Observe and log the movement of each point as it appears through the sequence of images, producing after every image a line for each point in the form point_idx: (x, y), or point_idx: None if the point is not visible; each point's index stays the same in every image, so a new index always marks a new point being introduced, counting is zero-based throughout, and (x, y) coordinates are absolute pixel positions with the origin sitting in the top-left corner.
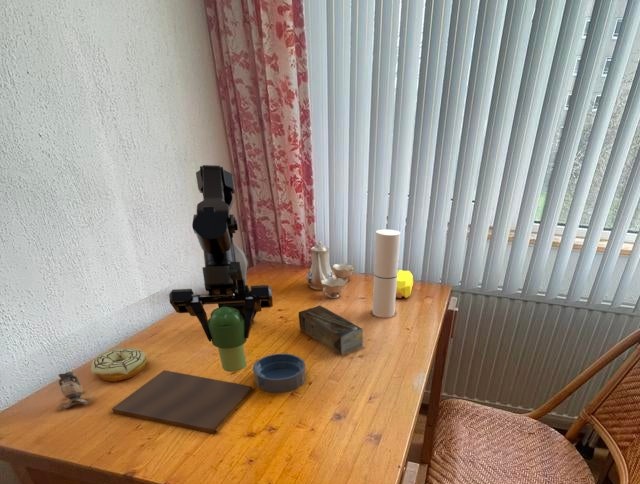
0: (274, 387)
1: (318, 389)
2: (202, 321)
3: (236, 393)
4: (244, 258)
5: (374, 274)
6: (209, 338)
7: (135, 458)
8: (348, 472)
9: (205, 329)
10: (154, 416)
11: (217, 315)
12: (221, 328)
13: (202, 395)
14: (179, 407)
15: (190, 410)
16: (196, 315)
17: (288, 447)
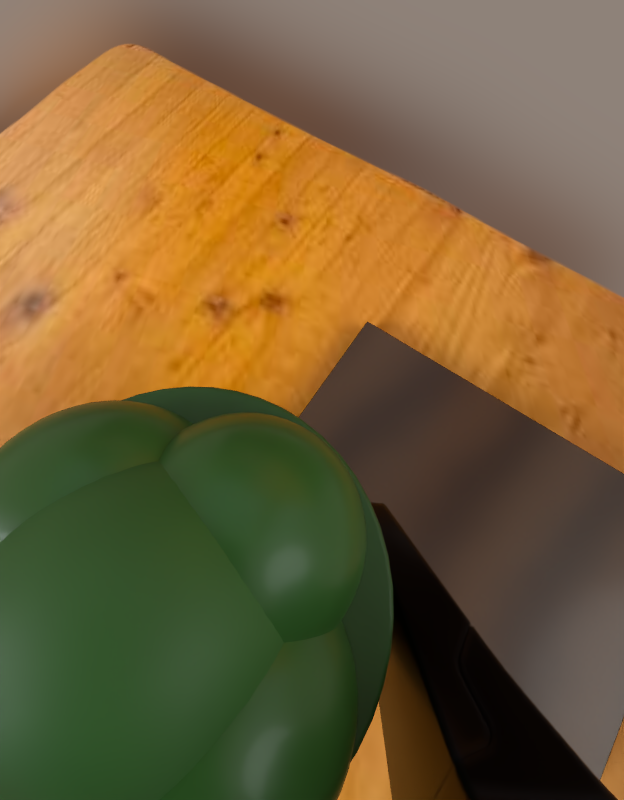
0: None
1: None
2: (459, 646)
3: None
4: None
5: None
6: (375, 506)
7: (543, 298)
8: (103, 143)
9: (413, 562)
10: (542, 429)
11: (240, 466)
12: (251, 400)
13: (405, 508)
14: (474, 456)
15: (437, 428)
16: (577, 755)
17: (195, 236)
